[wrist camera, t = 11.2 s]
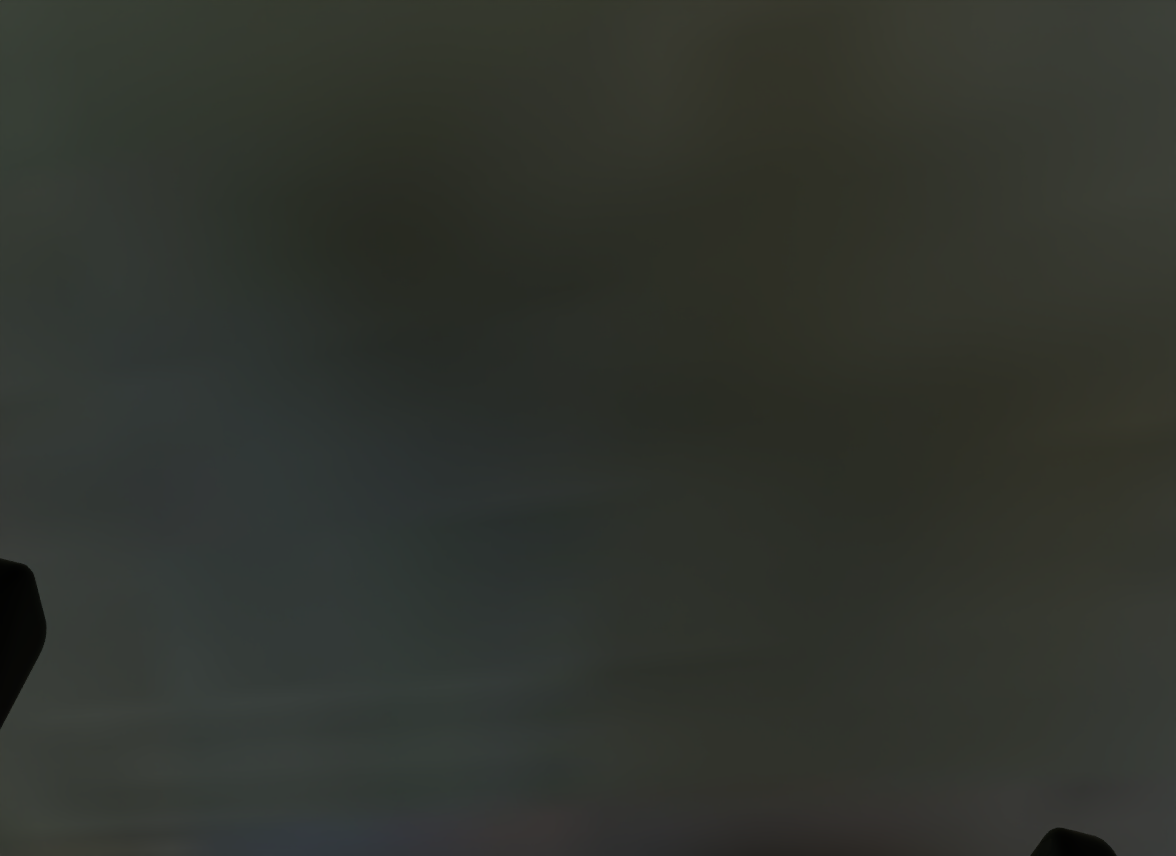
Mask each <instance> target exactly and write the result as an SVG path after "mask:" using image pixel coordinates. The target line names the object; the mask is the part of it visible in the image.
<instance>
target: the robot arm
mask: <svg viewBox="0 0 1176 856" xmlns="http://www.w3.org/2000/svg"><path fill="white" fill-rule="evenodd" d="M45 638H46V620H45V616H44V612H43V608H42V604H41V601H40V597H39V593H38V589H37V585H36V581H35V577H34V574H33V572H32V571H31V569H30V568H29V567H27V566H26V565H24V564H21V563H17V562H13V561H9V560H5V559H1V558H0V729H1V727H2V725H3V723H4V721H5V719H6V718H7V716H8V714H9V712H10V710H11V708H12V706H13V704H14V702H15V700H16V699H17V697H18V695H19V693H20V691H21V689H22V687H23V685H24V683H25V681H26V680H27V678H28V676H29V674H30V672H31V670H32V668H33V666H34V664H35V662H36V661H37V659H38V657H39V655H40V653H41V651H42V648H43V645H44V642H45ZM1031 856H1117V855H1116V854H1115V852H1114V851H1113V850H1112V848H1111V847H1110V846H1109V845H1108V844H1107V843H1106V842H1105V841H1104V840H1102V839H1100V838H1098V837H1096V836H1092V835H1088V834H1084V833H1080V832H1077V831H1073V830H1069V829H1065V828H1055V829H1052V830H1050V831H1049V832H1048V833H1047V834H1046V835H1045V836H1044V838H1043V839H1042V840H1041V842H1040V843H1039V845H1038V846H1037V847H1036V849H1035V850H1034V851H1033V853H1032V854H1031Z"/></svg>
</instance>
